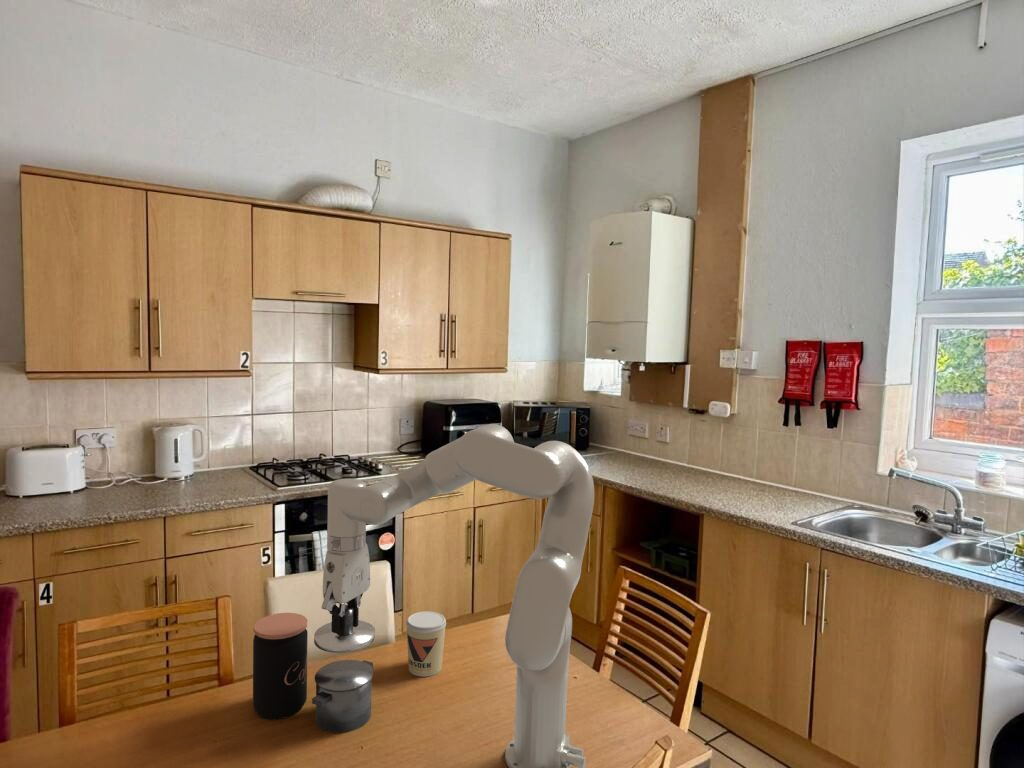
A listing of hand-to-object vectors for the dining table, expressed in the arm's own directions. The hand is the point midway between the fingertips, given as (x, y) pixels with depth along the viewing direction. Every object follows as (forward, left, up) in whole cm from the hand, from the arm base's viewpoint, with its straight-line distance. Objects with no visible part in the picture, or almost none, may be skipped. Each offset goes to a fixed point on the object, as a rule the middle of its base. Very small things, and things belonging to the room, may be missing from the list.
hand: (345, 628), depth 130 cm
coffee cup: (-5, -24, -19) cm, 31 cm away
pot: (0, 0, -19) cm, 19 cm away
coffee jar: (+14, +3, -19) cm, 24 cm away
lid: (0, 0, -2) cm, 2 cm away
